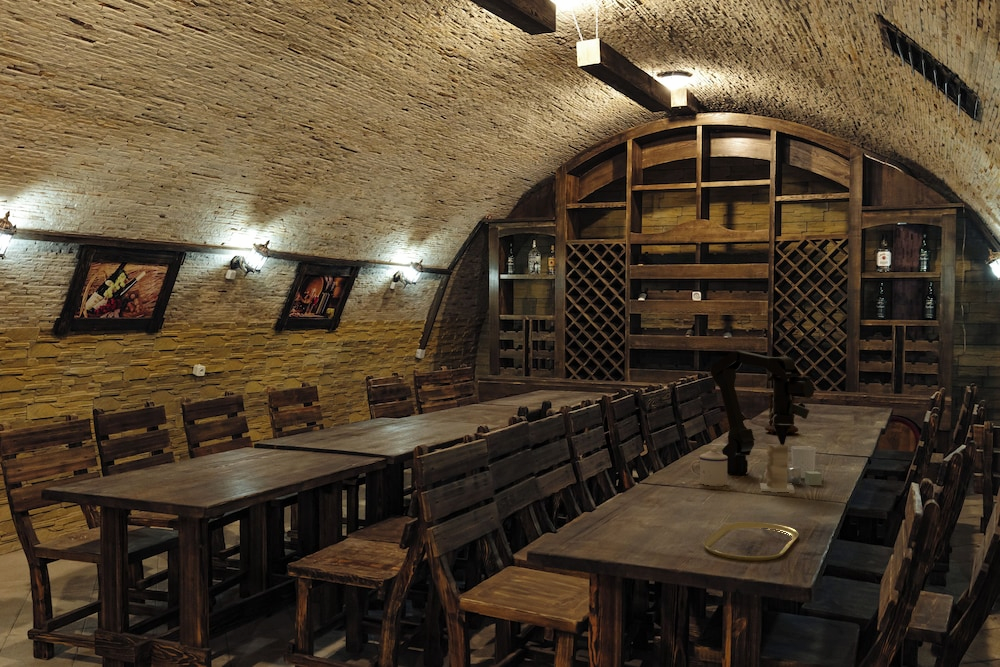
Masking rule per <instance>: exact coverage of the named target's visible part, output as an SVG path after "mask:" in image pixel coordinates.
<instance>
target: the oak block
mask: <svg viewBox="0 0 1000 667" xmlns="http://www.w3.org/2000/svg"><path fill="white" fill-rule="evenodd" d="M788 447H789V446H787V445H785V444H784V445H781V444H780V443H779V444H777V443H776V444H767V447H766V448H767V452H766V453H767V455H766V456H767V457H766V458H767V460H766V462H767V463H766V464H767V465H766V483H767V486H770V487H772V488H787V467H788V463H789V462H788V460H789V458H788V456H789V455H788V453H789V452H788V451H789V448H788Z"/></svg>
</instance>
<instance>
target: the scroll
mask: <svg viewBox="0 0 1000 667" xmlns="http://www.w3.org/2000/svg"><path fill="white" fill-rule="evenodd" d="M768 397H769V403H768V409H769V412H768V413H769V414H768V419H769V421H768V423H769V424H768V425H766V426H764V431H767V432H769V433H770V435H773V434H774V433H776V431H775V429H774V426H773V423H772V420H771V419H773V418H771V411H772V410H773V393H770V394H768ZM795 398H796V397H793V396H791V399H792V400H793V403H794V404H795ZM791 416H792V417H793V418H794V419H795V414H793V415H791ZM798 432H799V428H798V427H797V426H795V423H794V424H793V426H792V427H790V428H789V429H788V431H787V434H788V433H792V436H795V434H796V433H798Z"/></svg>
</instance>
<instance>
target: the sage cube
mask: <svg viewBox="0 0 1000 667" xmlns="http://www.w3.org/2000/svg"><path fill="white" fill-rule="evenodd" d="M822 476H823V475H822V473H821V472H819V471H817V470H816V471H805V478H804V484H805V483H807V484H809V485H821V486H822ZM807 484H806V485H807ZM809 485H808V486H809Z"/></svg>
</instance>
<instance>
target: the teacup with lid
mask: <svg viewBox="0 0 1000 667" xmlns="http://www.w3.org/2000/svg"><path fill="white" fill-rule="evenodd" d="M727 460H728V457H727V456H726V455H723V452H720V451H718V448H716V447H710V450H709V451H706V452H705V453H702V454H700V456H699V460H698V459H697V460H693V461H692V462H691V463H690V471H691V472H692V474H693V475H694V476H697V477H699V483H700V485H703V484H704V485H703V486H707V485H709V486H708V487H724V485H725V486H726V485H728V474H727ZM695 463H697V464H700V465H699V473H698V472H696V471H695V469H694V464H695Z"/></svg>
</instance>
